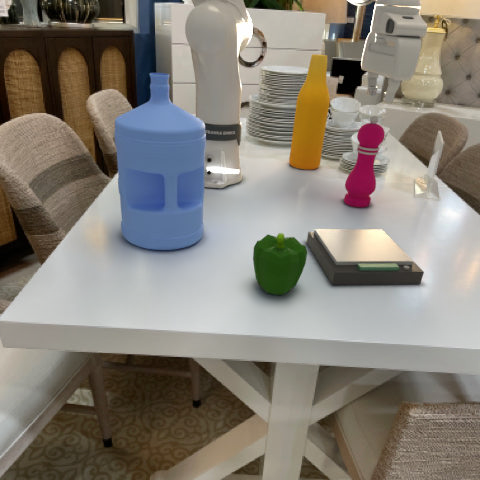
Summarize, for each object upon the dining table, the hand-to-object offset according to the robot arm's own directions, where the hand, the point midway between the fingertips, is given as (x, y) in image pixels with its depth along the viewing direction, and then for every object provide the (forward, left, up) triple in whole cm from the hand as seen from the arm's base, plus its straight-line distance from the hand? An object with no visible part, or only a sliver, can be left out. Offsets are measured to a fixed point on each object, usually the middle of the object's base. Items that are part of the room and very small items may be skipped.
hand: (379, 98), depth 103 cm
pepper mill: (0, 0, -24) cm, 24 cm away
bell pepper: (-29, -41, -24) cm, 56 cm away
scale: (-11, -32, -24) cm, 41 cm away
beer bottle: (-5, +32, -24) cm, 40 cm away
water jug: (-47, -20, -24) cm, 56 cm away
